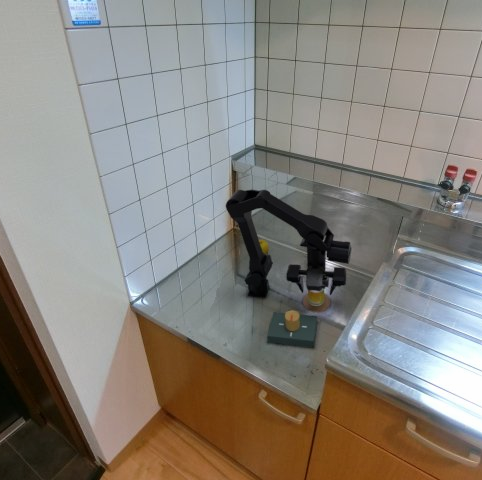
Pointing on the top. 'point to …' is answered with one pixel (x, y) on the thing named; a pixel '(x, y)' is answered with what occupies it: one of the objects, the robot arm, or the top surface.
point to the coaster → (316, 308)
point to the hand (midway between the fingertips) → (316, 293)
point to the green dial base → (298, 337)
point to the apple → (264, 246)
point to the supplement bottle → (316, 297)
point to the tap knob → (292, 320)
